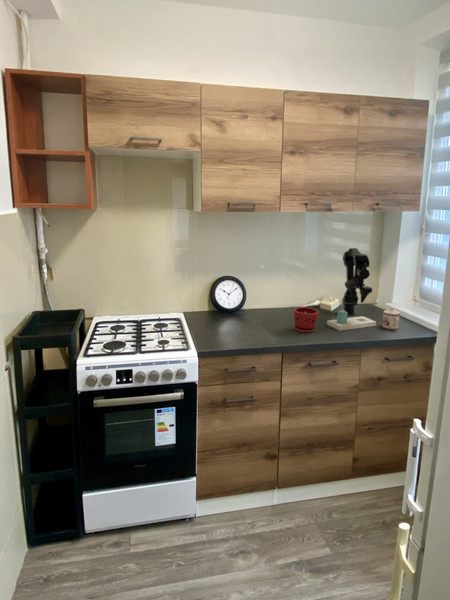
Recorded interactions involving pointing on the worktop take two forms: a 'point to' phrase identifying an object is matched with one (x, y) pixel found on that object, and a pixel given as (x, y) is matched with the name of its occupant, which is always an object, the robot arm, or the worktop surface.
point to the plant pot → (305, 319)
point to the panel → (352, 323)
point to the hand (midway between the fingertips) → (356, 300)
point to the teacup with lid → (390, 319)
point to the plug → (342, 317)
